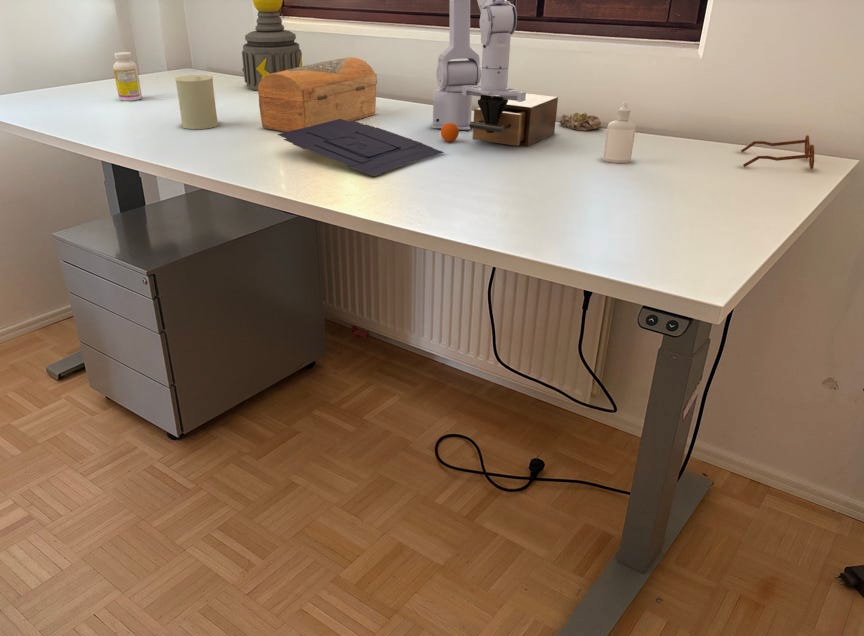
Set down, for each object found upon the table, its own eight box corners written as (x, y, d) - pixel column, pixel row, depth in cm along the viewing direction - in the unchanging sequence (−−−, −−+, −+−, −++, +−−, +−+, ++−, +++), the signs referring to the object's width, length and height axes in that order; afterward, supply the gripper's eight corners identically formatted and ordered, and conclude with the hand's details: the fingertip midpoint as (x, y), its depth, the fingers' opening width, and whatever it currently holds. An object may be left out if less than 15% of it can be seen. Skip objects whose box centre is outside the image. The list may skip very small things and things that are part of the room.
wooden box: (331, 107, 208) (329, 54, 201) (378, 114, 200) (378, 59, 193) (256, 127, 187) (250, 69, 180) (305, 136, 179) (302, 75, 172)
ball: (438, 143, 172) (439, 124, 170) (442, 138, 176) (442, 120, 174) (456, 144, 172) (457, 125, 169) (459, 139, 175) (460, 121, 173)
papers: (345, 128, 180) (346, 113, 178) (443, 164, 165) (446, 148, 163) (270, 148, 164) (270, 131, 162) (371, 189, 149) (373, 172, 147)
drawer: (507, 150, 162) (509, 118, 159) (461, 143, 168) (463, 112, 165) (543, 134, 175) (545, 104, 172) (499, 128, 181) (501, 99, 178)
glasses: (812, 173, 149) (820, 148, 146) (742, 167, 153) (748, 143, 150) (805, 157, 159) (812, 133, 157) (739, 152, 163) (745, 128, 161)
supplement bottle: (125, 96, 225) (117, 51, 218) (145, 97, 224) (138, 51, 217) (115, 101, 219) (106, 54, 213) (136, 101, 218) (128, 54, 212)
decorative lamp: (236, 91, 231) (225, -17, 216) (255, 81, 247) (246, -20, 232) (294, 92, 228) (287, -17, 213) (310, 82, 244) (304, -20, 229)
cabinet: (527, 146, 169) (531, 107, 165) (478, 139, 175) (481, 101, 171) (554, 134, 179) (558, 96, 175) (507, 127, 186) (510, 91, 181)
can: (192, 131, 185) (186, 80, 179) (175, 125, 191) (168, 75, 185) (225, 125, 190) (219, 75, 184) (207, 119, 196) (201, 71, 190)
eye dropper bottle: (623, 165, 155) (633, 105, 149) (599, 160, 158) (607, 102, 152) (633, 161, 157) (643, 102, 151) (609, 156, 161) (617, 99, 155)
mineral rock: (608, 116, 185) (596, 112, 178) (605, 134, 186) (592, 131, 180) (568, 112, 191) (555, 109, 184) (565, 130, 192) (552, 127, 186)
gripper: (456, 66, 160) (453, 131, 167) (517, 72, 153) (512, 139, 159) (472, 62, 165) (469, 125, 172) (532, 68, 158) (526, 133, 164)
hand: (491, 131), depth 166 cm, fingers closed, pressing on drawer
